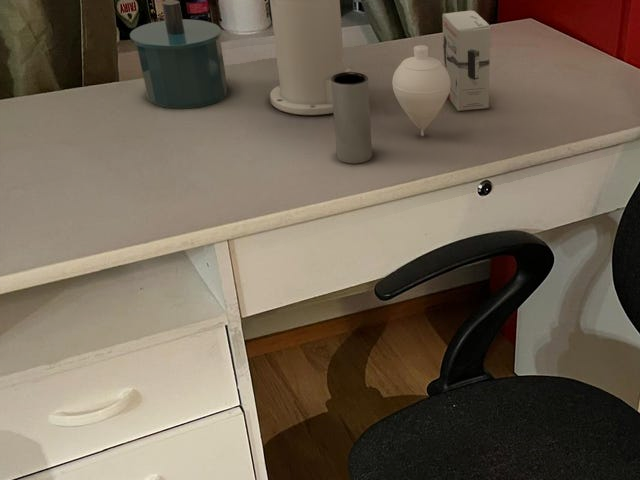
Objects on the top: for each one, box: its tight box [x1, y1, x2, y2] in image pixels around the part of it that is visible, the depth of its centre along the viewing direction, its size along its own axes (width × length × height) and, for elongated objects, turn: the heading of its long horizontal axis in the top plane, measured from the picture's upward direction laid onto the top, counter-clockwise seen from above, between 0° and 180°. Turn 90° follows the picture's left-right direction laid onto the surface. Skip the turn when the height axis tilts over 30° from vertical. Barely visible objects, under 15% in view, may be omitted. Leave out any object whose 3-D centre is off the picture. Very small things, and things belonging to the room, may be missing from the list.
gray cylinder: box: [331, 71, 373, 165], centre depth 109 cm, size 4×4×10 cm
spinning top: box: [392, 44, 451, 137], centre depth 114 cm, size 8×8×12 cm
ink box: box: [442, 10, 491, 112], centre depth 126 cm, size 8×5×12 cm, turn 17°
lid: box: [129, 0, 222, 50], centre depth 122 cm, size 12×12×5 cm
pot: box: [135, 37, 228, 110], centre depth 126 cm, size 11×11×8 cm
